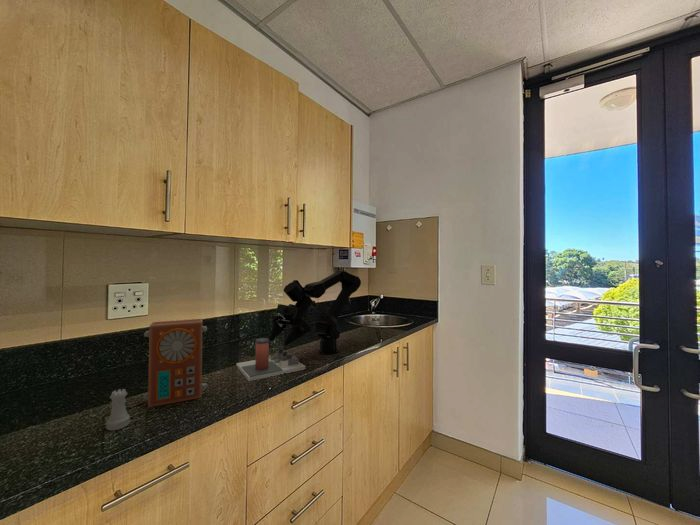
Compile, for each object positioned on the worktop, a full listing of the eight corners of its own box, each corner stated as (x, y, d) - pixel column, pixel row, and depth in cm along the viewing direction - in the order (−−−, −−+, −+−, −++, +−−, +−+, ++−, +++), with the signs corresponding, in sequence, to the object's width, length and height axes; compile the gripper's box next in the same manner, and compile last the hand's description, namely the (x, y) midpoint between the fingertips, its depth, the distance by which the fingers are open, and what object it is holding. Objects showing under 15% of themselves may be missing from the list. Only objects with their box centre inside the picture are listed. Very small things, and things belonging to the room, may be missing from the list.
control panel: (206, 397, 81) (141, 410, 74) (206, 388, 87) (146, 399, 80) (207, 321, 81) (143, 326, 74) (207, 317, 88) (147, 321, 81)
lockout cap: (261, 365, 104) (261, 337, 104) (271, 367, 102) (271, 338, 102) (252, 369, 100) (252, 340, 100) (262, 371, 98) (262, 341, 98)
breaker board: (287, 357, 118) (287, 346, 118) (305, 369, 104) (305, 356, 104) (236, 366, 107) (236, 354, 107) (248, 381, 93) (248, 366, 93)
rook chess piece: (100, 429, 65) (101, 393, 65) (122, 419, 69) (123, 386, 69) (113, 433, 63) (114, 396, 64) (134, 423, 68) (135, 388, 68)
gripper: (274, 294, 116) (249, 326, 108) (304, 297, 104) (279, 333, 96) (289, 311, 122) (267, 343, 114) (320, 316, 110) (298, 352, 102)
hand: (277, 342), depth 106 cm, fingers open, 9 cm apart
